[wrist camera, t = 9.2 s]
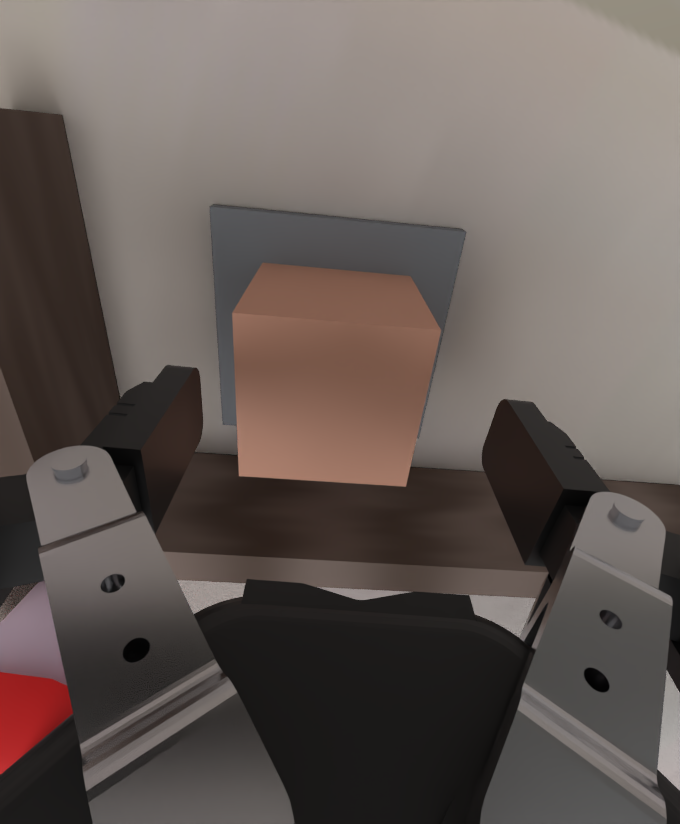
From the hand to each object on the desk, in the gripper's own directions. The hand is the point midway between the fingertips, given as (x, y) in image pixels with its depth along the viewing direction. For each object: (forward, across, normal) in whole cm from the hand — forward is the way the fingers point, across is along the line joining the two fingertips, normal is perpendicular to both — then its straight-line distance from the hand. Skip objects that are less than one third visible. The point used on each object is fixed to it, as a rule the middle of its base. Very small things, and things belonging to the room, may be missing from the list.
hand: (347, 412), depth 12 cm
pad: (+7, +1, +1) cm, 7 cm away
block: (+6, 0, +1) cm, 7 cm away
